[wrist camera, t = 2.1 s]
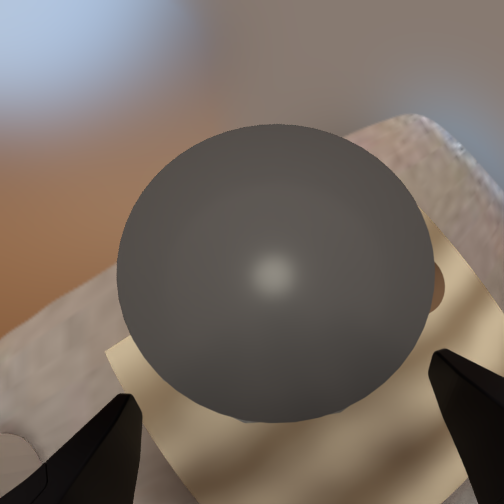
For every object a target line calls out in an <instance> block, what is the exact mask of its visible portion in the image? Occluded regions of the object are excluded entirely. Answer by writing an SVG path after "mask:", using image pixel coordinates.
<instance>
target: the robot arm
mask: <svg viewBox="0 0 504 504" xmlns="http://www.w3.org/2000/svg"><path fill="white" fill-rule="evenodd" d="M428 377H429V380H430V383H431V386H432V388H433V391H434V394H435V397H436V400H437V403H438V406H439V409H440V412H441V414H442V417H443V419H444V422H445V424H446V426H447V428H448V430H449V433H450V435H451V437H452V439H453V442H454V444H455V446H456V448H457V451H458V453H459V455H460V458H461V460H462V463H463V465H464V468H465V470H466V473H467V475H468V478H469V480H470V483H471V485H472V488H473V491H474V493H475V496H476V499H477V502H478V504H504V377H502V376H500V375H498V374H496V373H494V372H492V371H490V370H488V369H486V368H484V367H482V366H480V365H478V364H476V363H474V362H472V361H471V360H469V359H467V358H465V357H463V356H461V355H459V354H457V353H455V352H453V351H451V350H449V349H446V348H443V349H440V350H437V351H435V352H434V353H433V355H432V358H431V362H430V366H429V369H428ZM142 421H143V415H142V411H141V409H140V407H139V405H138V403H137V402H136V400H135V398H134V396H133V395H132V394H130V393H120V394H118V395H117V396H116V397H114V398H113V399H112V400H111V401H110V402H109V403H108V404H107V405H106V406H105V407H104V408H103V409H102V410H101V411H100V412H99V413H97V414H96V415H95V416H94V417H93V418H92V419H91V420H90V421H89V422H88V423H87V424H86V425H85V426H84V427H82V428H81V429H80V430H79V431H78V432H77V433H76V434H75V435H74V436H73V437H72V438H71V439H70V440H69V441H67V442H66V443H65V444H64V445H63V446H62V447H61V448H60V449H59V450H58V451H57V452H56V453H54V454H53V455H52V456H51V457H50V458H49V459H48V460H47V461H46V462H45V463H44V464H42V465H41V466H40V467H39V468H38V469H37V470H36V471H35V472H34V473H32V474H31V475H30V476H29V477H28V478H26V479H25V480H24V481H23V482H21V483H20V484H19V485H17V486H16V487H15V488H13V489H12V490H11V491H9V492H8V493H6V494H5V495H4V496H2V497H1V498H0V504H133V499H134V492H135V486H136V480H137V474H138V468H139V462H140V451H141V435H142Z"/></svg>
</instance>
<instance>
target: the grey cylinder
mask: <svg viewBox="0 0 504 504" xmlns="http://www.w3.org/2000/svg"><path fill="white" fill-rule="evenodd" d="M434 284H435V263H434V254H433V247H432V243H431V239H430V235H429V231H428V228H427V225H426V223H425V220H424V218H423V215H422V213H421V211H420V209H419V207H418V205H417V204H416V202H415V200H414V198H413V197H412V195H411V194H410V192H409V191H408V190H407V188H406V187H405V185H404V184H403V183H402V182H401V180H400V179H399V178H398V177H397V176H396V175H395V174H394V173H393V172H392V171H391V170H390V169H389V168H388V167H387V166H386V165H385V164H384V163H382V162H381V161H380V160H379V159H378V158H376V157H375V156H374V155H372V154H371V153H369V152H368V151H366V150H365V149H363V148H362V147H360V146H358V145H356V144H354V143H352V142H350V141H348V140H346V139H344V138H342V137H339V136H336V135H334V134H331V133H328V132H325V131H321V130H318V129H314V128H308V127H303V126H296V125H282V124H273V125H257V126H251V127H243V128H239V129H235V130H231V131H227V132H225V133H222V134H219V135H216V136H213V137H211V138H209V139H206V140H204V141H202V142H200V143H199V144H196V145H194V146H193V147H191V148H190V149H188V150H187V151H185V152H183V153H182V154H180V155H179V156H178V157H176V158H175V159H174V160H172V161H171V162H170V163H169V164H168V165H166V166H165V167H164V168H163V169H162V170H161V171H160V172H159V173H158V174H157V175H156V176H155V177H154V178H153V180H152V181H151V182H150V183H149V185H148V186H147V187H146V188H145V190H144V191H143V192H142V194H141V195H140V197H139V199H138V200H137V202H136V204H135V205H134V207H133V209H132V211H131V213H130V216H129V218H128V220H127V222H126V225H125V228H124V231H123V234H122V238H121V241H120V246H119V252H118V259H117V287H118V296H119V302H120V306H121V310H122V313H123V317H124V320H125V323H126V325H127V327H128V330H129V332H130V334H131V337H132V339H133V341H134V342H135V344H136V346H137V347H138V349H139V350H140V352H141V354H142V355H143V357H144V358H145V359H146V361H147V362H148V363H149V364H150V365H151V367H152V368H153V369H154V370H155V371H156V372H157V374H158V375H159V376H160V377H161V378H162V379H163V381H165V382H167V383H168V384H169V385H171V386H172V387H173V388H174V389H175V390H176V391H178V392H179V393H181V394H182V395H184V396H186V397H187V398H189V399H190V400H192V401H193V402H195V403H197V404H199V405H201V406H203V407H205V408H208V409H210V410H212V411H214V412H217V413H219V414H222V415H226V416H230V417H233V418H235V419H237V420H239V421H241V422H243V423H259V422H262V423H290V422H299V421H305V420H310V419H315V418H320V417H323V416H326V415H330V414H336V413H341V412H342V411H343V410H345V409H346V408H347V407H349V406H350V405H352V404H354V403H356V402H358V401H360V400H362V399H363V398H365V397H367V396H368V395H369V394H371V393H372V392H373V391H375V390H376V389H377V388H379V387H380V386H381V385H383V384H384V383H385V382H386V381H387V380H388V379H389V378H390V377H391V376H392V375H393V374H394V373H395V372H396V371H397V370H398V369H399V368H400V367H401V365H402V364H403V363H404V361H405V360H406V358H407V357H408V356H409V354H410V353H411V351H412V350H413V349H414V347H415V345H416V343H417V341H418V339H419V337H420V335H421V333H422V331H423V329H424V327H425V324H426V321H427V318H428V315H429V312H430V309H431V304H432V299H433V293H434Z"/></svg>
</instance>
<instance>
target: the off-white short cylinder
mask: <svg viewBox="0 0 504 504" xmlns="http://www.w3.org/2000/svg"><path fill="white" fill-rule="evenodd" d="M41 465H42V464H41V462H40V460H39V458H38V455H37V453H36V452H35V451H34V449H33V448H32V447H31V445H30V444H29V443H28V442H27V441H25V440H24V439H23V438H22V437H20V436H17V435H13V434H4V433H0V498H1V497H2V496H4V495H5V494H6V493H8V492H9V491H11V490H12V489H13V488H15V487H16V486H17V485H19V484H20V483H21V482H23V481H24V480H25V479H26V478H28V477H29V476H30V475H31V474H32V473H34V472H35V471H36V470H37V469H38V468H39V467H40V466H41Z"/></svg>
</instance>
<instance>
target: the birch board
mask: <svg viewBox="0 0 504 504" xmlns="http://www.w3.org/2000/svg"><path fill="white" fill-rule="evenodd" d="M418 207H419V206H418ZM419 209H420V211H421V213H422V215H423V218H424V220H425V223H426V225H427V228H428V231H429V235H430V239H431V243H432V247H433V254H434V262H435V263H436V264H437V265H438V266H439V268H440V270H441V272H442V274H443V277H444V281H445V293H444V297H443V300H442V302H441V303H440V305H439V306H438V307H437V308H436V309H435V310H434V311H432V312H431V313H429V315H428V318H427V321H426V324H425V327H424V329H423V331H422V333H421V335H420V337H419V339H418V341H417V343H416V345H415V347H414V349H413V350H412V351H411V353H410V354H409V356H408V357H407V358H406V360H405V361H404V363H403V364H402V365H401V367H400V368H399V369H398V370H397V371H396V372H395V373H394V374H393V375H392V376H391V377H390V378H389V379H388V380H387V381H386V382H385V383H384V384H383V385H381V386H380V387H379V388H377V389H376V390H375V391H373V392H372V393H371V394H369V395H368V396H367V397H365V398H363V399H362V400H360V401H358V402H356V403H354V404H352V405H350V406H349V407H347V408H346V409H345V410H343V411H342V412H341V413H336V414H330V415H326V416H323V417H320V418H315V419H310V420H305V421H299V422H290V423H262V422H259V423H243V422H241V421H239V420H237V419H235V418H233V417H230V416H226V415H222V414H219V413H217V412H214V411H212V410H210V409H208V408H205V407H203V406H201V405H199V404H197V403H195V402H193V401H192V400H190V399H189V398H187V397H186V396H184V395H182V394H181V393H179V392H178V391H176V390H175V389H174V388H173V387H172V386H171V385H169V384H168V383H167V382H165V381H163V379H162V378H161V377H160V376H159V375H158V374H157V372H156V371H155V370H154V369H153V368H152V367H151V365H150V364H149V363H148V362H147V361H146V359H145V358H144V357H143V355H142V354H141V352H140V350H139V349H138V347H137V346H136V344H135V342H134V341H133V339H132V337H131V335H129V336H128V337H126V338H125V339H123V340H122V341H120V342H119V343H117V344H116V345H114V346H113V347H111V348H110V349H108V350H106V351H105V354H106V356H107V358H108V360H109V362H110V364H111V366H112V368H113V370H114V372H115V374H116V376H117V378H118V380H119V382H120V384H121V386H122V387H123V389H124V391H125V393H130V394H132V395H133V396H134V398H135V400H136V402H137V403H138V405H139V407H140V409H141V411H142V415H143V421H142V422H143V424H144V426H145V427H146V429H147V431H148V432H149V434H150V435H151V437H152V439H153V440H154V442H155V443H156V445H157V446H158V448H159V449H160V451H161V452H162V454H163V455H164V457H165V458H166V460H167V461H168V462H169V464H170V465H171V467H172V468H173V470H174V471H175V472H176V474H177V475H178V476H179V478H180V479H181V481H182V482H183V483H184V485H185V486H186V487H187V489H188V490H189V491H190V492H191V494H192V495H193V496H194V497H195V499H196V500H197V501H198V502H199V504H441V503H442V502H443V501H444V500H446V499H447V498H448V497H449V496H450V495H451V494H452V493H453V492H454V491H455V490H456V489H457V488H458V487H459V486H460V485H461V484H462V483H463V482H464V481H465V480H466V479H467V478H468V475H467V473H466V470H465V468H464V465H463V463H462V460H461V458H460V455H459V453H458V451H457V448H456V446H455V444H454V442H453V439H452V437H451V435H450V433H449V430H448V428H447V426H446V424H445V422H444V419H443V417H442V414H441V412H440V409H439V406H438V403H437V400H436V397H435V394H434V391H433V388H432V386H431V383H430V380H429V377H428V369H429V366H430V362H431V358H432V355H433V353H434V352H435V351H437V350H440V349H443V348H446V349H449V350H451V351H453V352H455V353H457V354H459V355H461V356H463V357H465V358H467V359H469V360H471V361H472V362H474V363H476V364H478V365H480V366H482V367H484V368H486V369H488V370H490V371H492V372H494V373H496V374H498V375H500V376H502V377H504V314H503V312H502V311H501V309H500V308H499V306H498V305H497V303H496V302H495V300H494V299H493V297H492V296H491V295H490V293H489V292H488V290H487V289H486V288H485V286H484V285H483V283H482V282H481V281H480V279H479V278H478V277H477V275H476V274H475V273H474V271H473V270H472V269H471V267H470V266H469V265H468V264H467V262H466V261H465V260H464V258H463V257H462V256H461V255H460V253H459V252H458V251H457V250H456V248H455V247H454V246H453V245H452V244H451V242H450V241H449V240H448V239H447V238H446V236H445V235H444V234H443V233H442V232H441V231H440V229H439V228H438V227H437V226H436V225H435V224H434V223H433V222H432V220H431V219H430V218H429V217H428V216H427V215H426V214H425V213H424V212H423V210H422V209H421V208H420V207H419Z"/></svg>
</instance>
